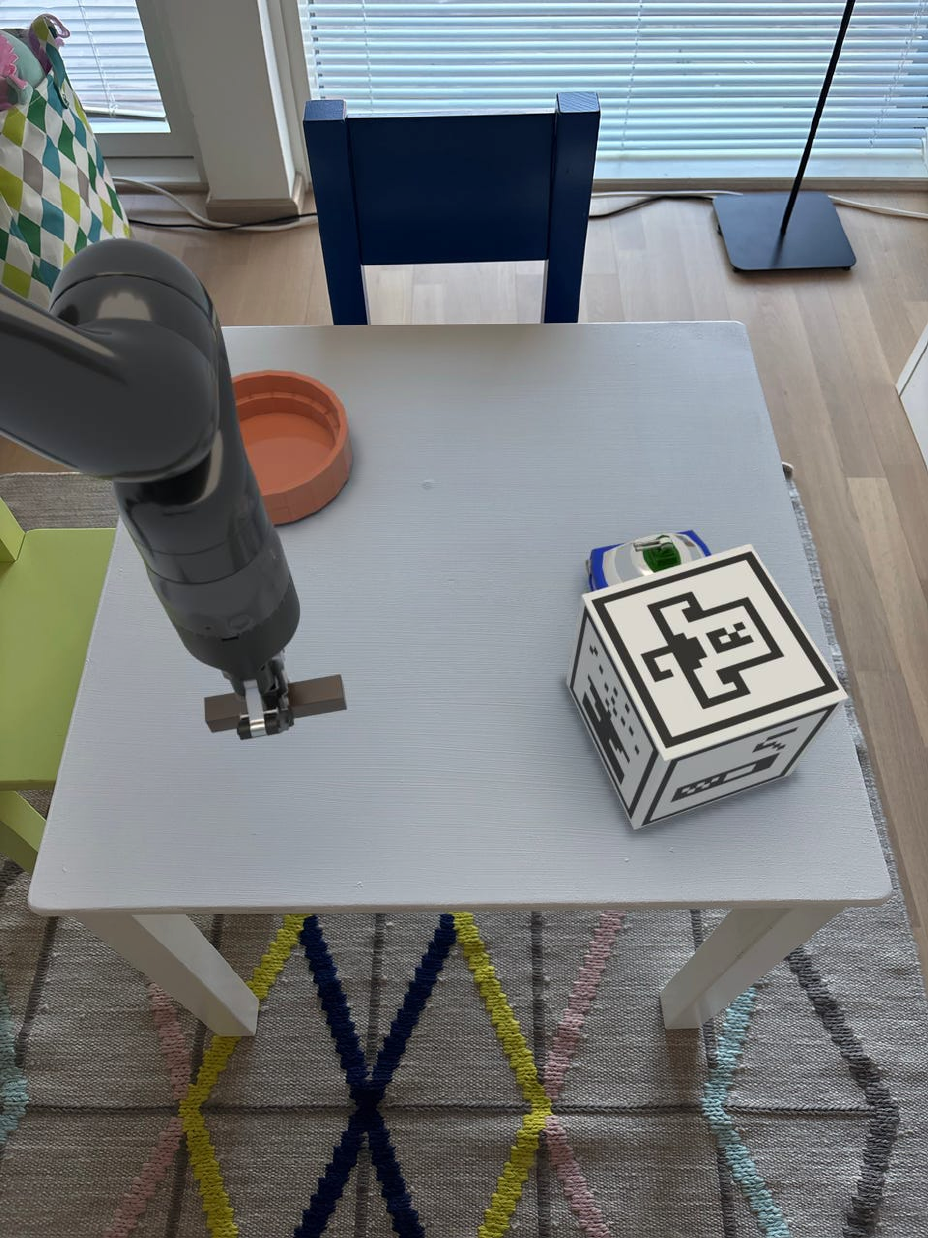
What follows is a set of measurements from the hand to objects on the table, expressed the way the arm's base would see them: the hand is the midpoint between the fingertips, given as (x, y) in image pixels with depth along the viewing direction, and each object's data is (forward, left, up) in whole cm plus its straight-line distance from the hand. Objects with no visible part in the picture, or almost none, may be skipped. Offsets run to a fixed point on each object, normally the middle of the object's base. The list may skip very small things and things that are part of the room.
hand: (278, 709), depth 68 cm
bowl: (0, +38, -15) cm, 40 cm away
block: (+33, -1, -15) cm, 36 cm away
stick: (0, 0, 0) cm, 0 cm away
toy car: (+35, +13, -15) cm, 40 cm away
